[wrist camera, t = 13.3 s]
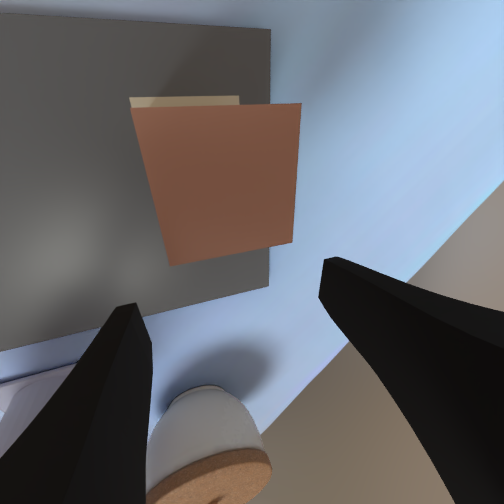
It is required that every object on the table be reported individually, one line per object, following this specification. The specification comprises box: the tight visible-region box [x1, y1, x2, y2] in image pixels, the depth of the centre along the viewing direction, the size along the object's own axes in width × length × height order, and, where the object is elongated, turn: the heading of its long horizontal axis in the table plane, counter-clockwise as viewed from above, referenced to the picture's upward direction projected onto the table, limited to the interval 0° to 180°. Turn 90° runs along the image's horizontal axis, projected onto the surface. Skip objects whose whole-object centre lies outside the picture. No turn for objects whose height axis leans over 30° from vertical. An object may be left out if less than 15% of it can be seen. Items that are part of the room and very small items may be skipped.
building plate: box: [0, 13, 271, 352], centre depth 15 cm, size 18×22×1 cm
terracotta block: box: [130, 103, 302, 266], centre depth 9 cm, size 4×4×4 cm
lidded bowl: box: [146, 385, 272, 504], centre depth 25 cm, size 13×13×11 cm
